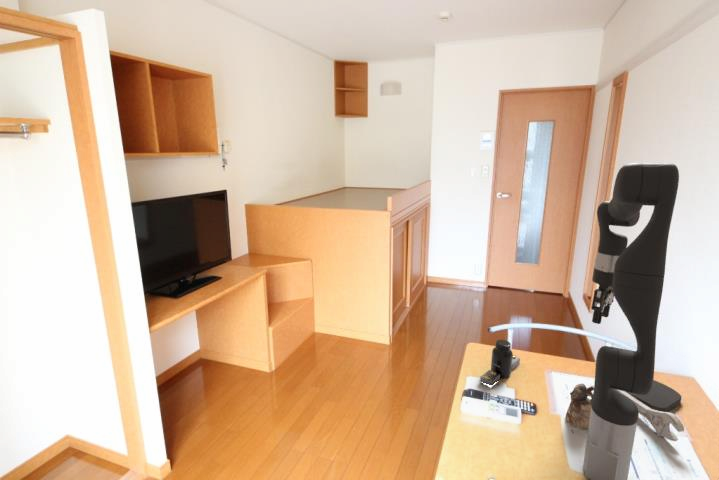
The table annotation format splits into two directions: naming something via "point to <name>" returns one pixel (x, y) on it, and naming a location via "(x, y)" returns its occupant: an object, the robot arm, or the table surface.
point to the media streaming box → (659, 397)
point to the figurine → (580, 407)
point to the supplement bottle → (502, 358)
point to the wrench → (658, 418)
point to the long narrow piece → (493, 377)
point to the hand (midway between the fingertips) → (600, 319)
